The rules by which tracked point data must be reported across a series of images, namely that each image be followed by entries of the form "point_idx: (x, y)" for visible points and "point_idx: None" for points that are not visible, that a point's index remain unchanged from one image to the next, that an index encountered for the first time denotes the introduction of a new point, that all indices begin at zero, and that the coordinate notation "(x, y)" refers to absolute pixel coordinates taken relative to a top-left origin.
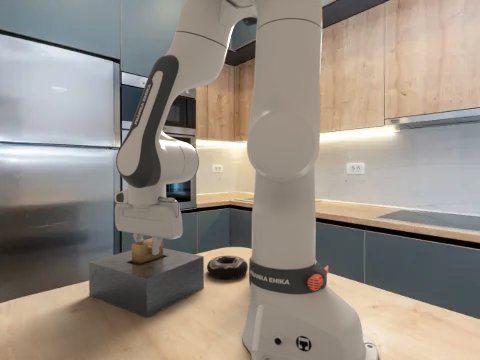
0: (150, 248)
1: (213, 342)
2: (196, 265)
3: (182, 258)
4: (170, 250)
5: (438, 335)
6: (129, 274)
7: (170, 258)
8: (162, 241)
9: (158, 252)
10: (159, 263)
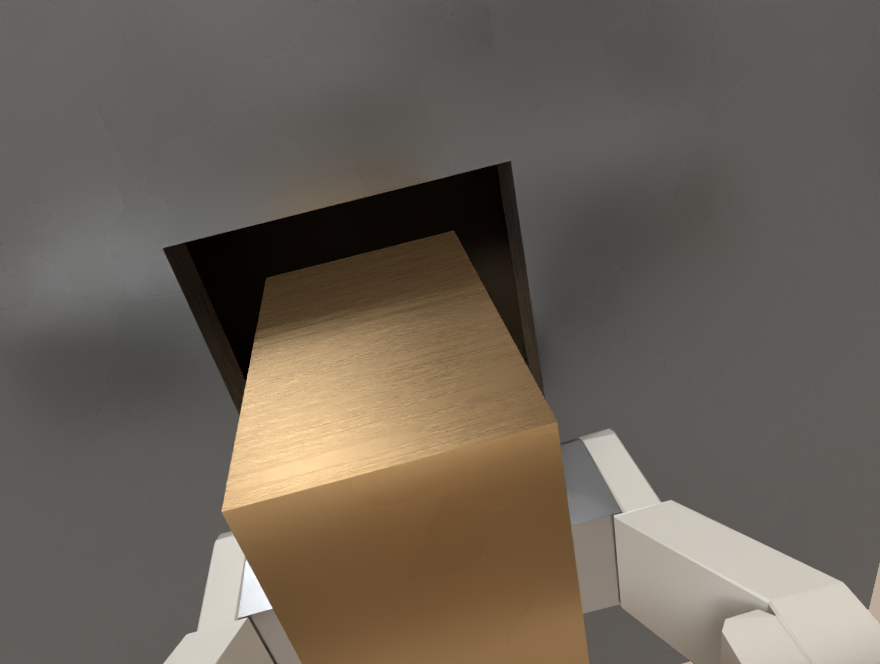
0: (587, 596)
1: None
2: None
3: (794, 62)
4: None
5: None
6: (672, 662)
7: (631, 209)
8: (543, 402)
9: (616, 444)
10: (672, 409)
